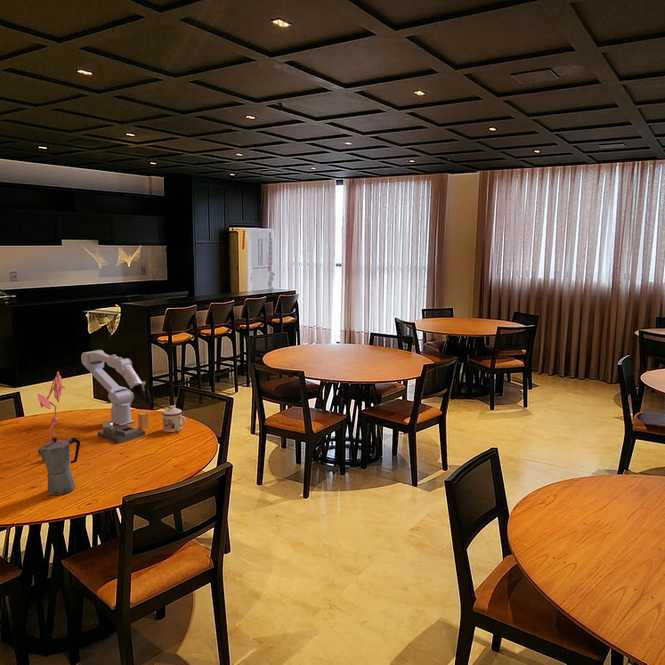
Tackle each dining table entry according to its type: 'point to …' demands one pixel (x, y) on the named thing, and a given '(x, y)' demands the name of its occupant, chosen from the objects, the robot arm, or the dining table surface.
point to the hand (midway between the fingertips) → (147, 401)
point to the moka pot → (59, 465)
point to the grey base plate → (119, 432)
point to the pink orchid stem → (46, 402)
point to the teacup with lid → (172, 419)
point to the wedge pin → (143, 420)
